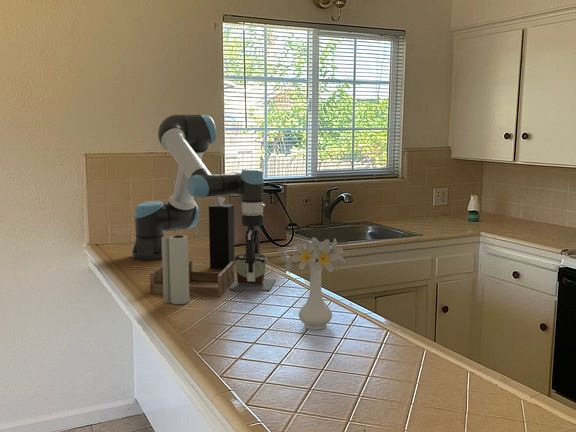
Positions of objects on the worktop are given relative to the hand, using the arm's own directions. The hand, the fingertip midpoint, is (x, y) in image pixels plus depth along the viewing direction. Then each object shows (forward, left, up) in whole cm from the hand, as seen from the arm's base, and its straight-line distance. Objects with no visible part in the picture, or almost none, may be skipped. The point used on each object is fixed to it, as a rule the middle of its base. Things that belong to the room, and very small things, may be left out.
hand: (253, 278), depth 214 cm
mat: (0, 0, -2) cm, 2 cm away
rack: (+5, -20, -2) cm, 21 cm away
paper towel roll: (+23, -20, -3) cm, 31 cm away
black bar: (-25, -17, -3) cm, 30 cm away
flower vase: (+42, +25, -3) cm, 49 cm away
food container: (0, 0, -2) cm, 2 cm away
